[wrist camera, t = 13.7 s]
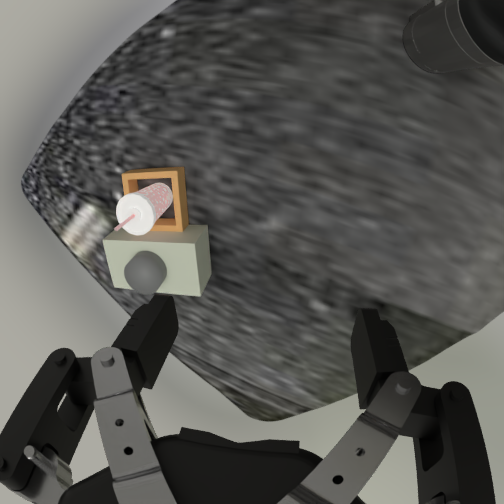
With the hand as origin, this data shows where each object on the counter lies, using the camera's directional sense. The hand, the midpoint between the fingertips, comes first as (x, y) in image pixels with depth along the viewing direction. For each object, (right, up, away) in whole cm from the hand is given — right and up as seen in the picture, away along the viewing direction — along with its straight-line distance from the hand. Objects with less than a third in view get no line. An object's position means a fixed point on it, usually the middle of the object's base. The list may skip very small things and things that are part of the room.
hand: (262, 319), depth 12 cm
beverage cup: (-15, +12, +34) cm, 39 cm away
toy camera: (-16, +8, +36) cm, 40 cm away
